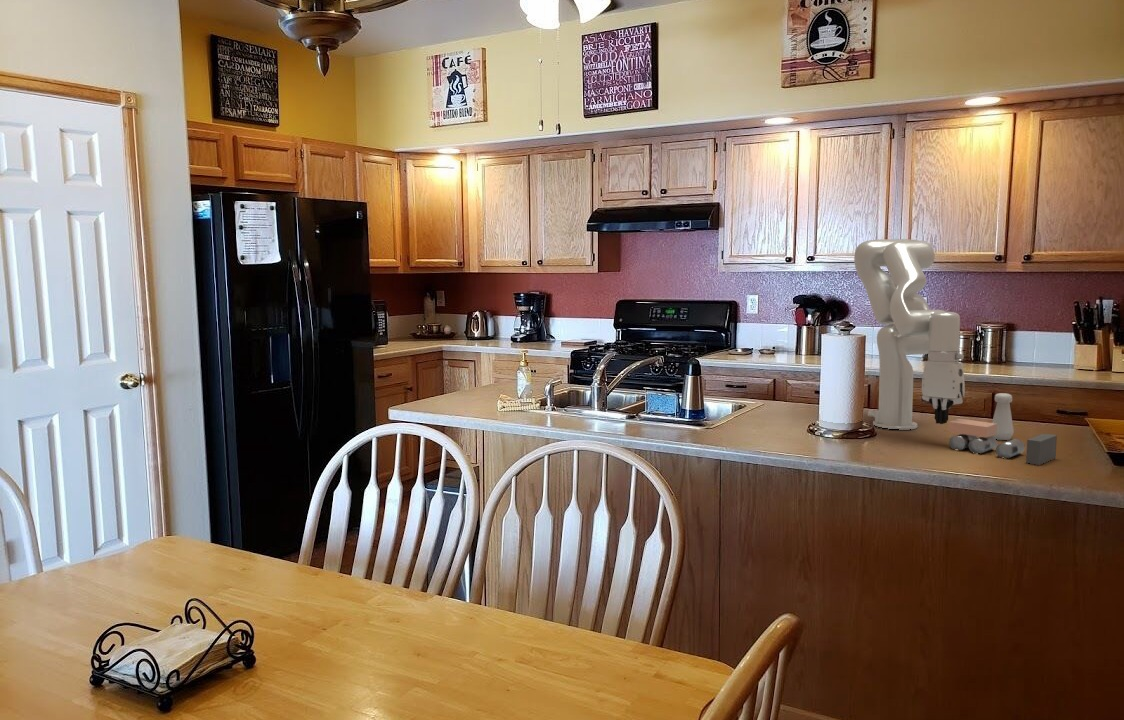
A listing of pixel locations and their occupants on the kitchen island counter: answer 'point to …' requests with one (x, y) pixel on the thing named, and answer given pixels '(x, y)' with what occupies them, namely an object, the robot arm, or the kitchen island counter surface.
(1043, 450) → the rubber block
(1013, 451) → the loose steel roller
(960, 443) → the rear steel roller
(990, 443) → the front steel roller
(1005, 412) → the salt shaker
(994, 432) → the terracotta slab
